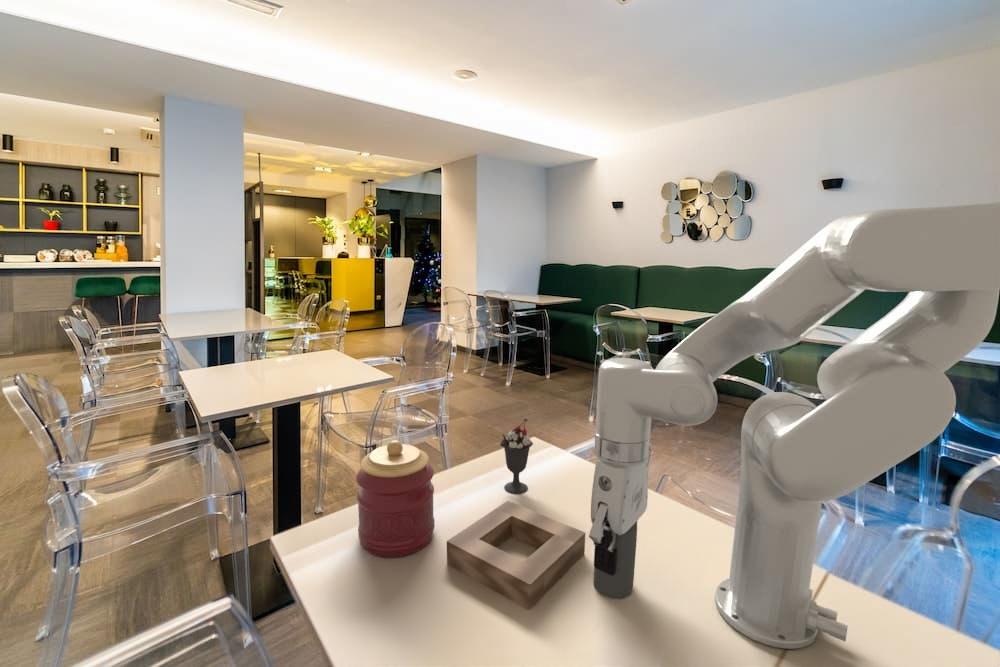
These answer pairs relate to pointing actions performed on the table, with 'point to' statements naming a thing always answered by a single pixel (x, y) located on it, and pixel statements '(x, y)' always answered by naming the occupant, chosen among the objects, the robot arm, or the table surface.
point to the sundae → (516, 457)
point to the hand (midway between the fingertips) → (614, 558)
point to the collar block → (508, 573)
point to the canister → (395, 500)
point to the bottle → (619, 567)
